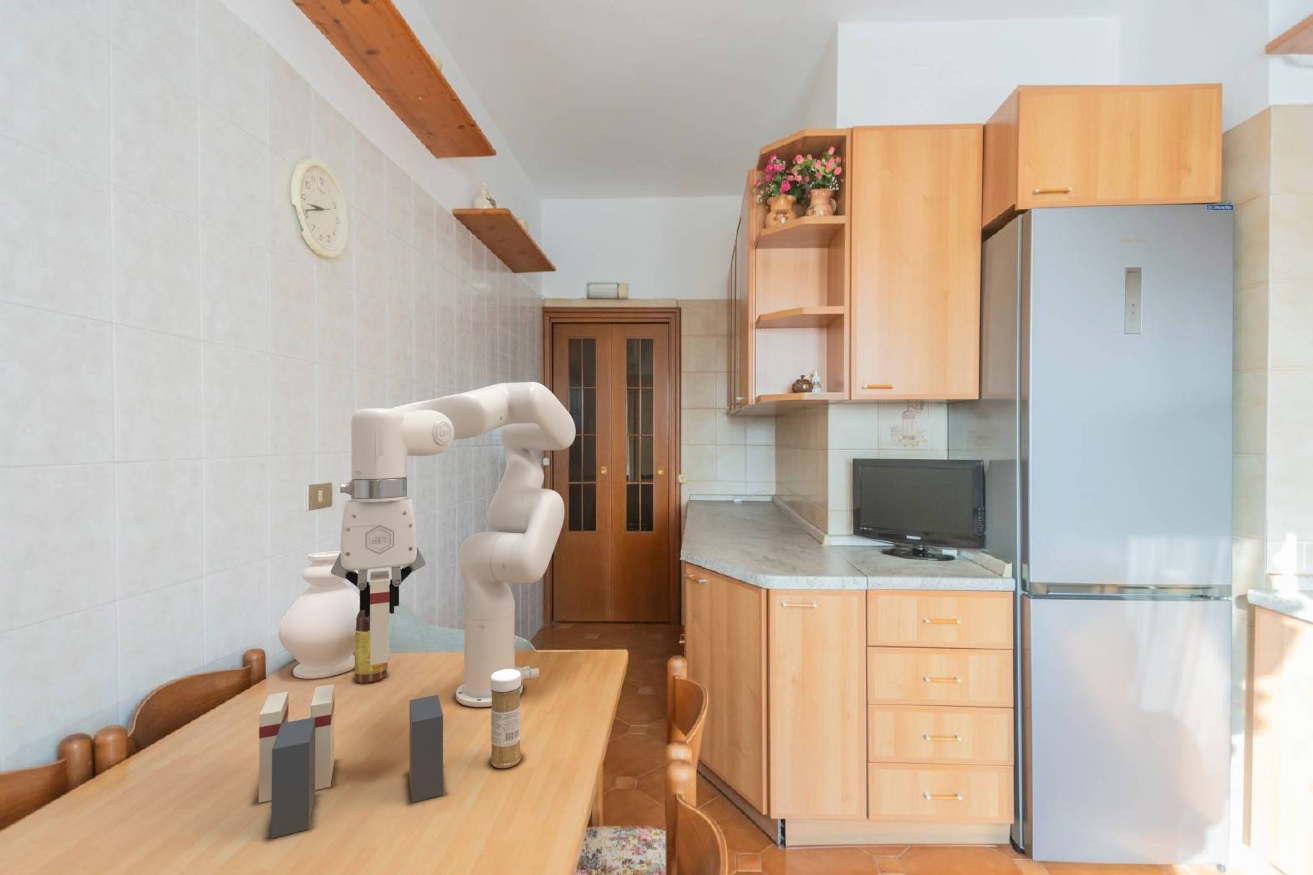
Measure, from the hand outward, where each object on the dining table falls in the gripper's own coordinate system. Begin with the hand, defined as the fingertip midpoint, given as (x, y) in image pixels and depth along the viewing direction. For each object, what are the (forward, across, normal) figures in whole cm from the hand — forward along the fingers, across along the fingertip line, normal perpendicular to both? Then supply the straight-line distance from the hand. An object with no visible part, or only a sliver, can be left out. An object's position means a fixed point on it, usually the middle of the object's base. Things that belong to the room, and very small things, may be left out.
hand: (379, 611), depth 85 cm
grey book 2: (+24, +6, -7) cm, 25 cm away
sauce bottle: (+24, -1, +39) cm, 46 cm away
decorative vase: (+24, -10, +50) cm, 57 cm away
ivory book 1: (+24, -14, +2) cm, 27 cm away
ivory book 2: (+24, -8, +2) cm, 25 cm away
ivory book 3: (+7, 0, 0) cm, 7 cm away
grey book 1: (+24, -10, -7) cm, 27 cm away
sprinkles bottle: (+24, +17, -6) cm, 30 cm away
